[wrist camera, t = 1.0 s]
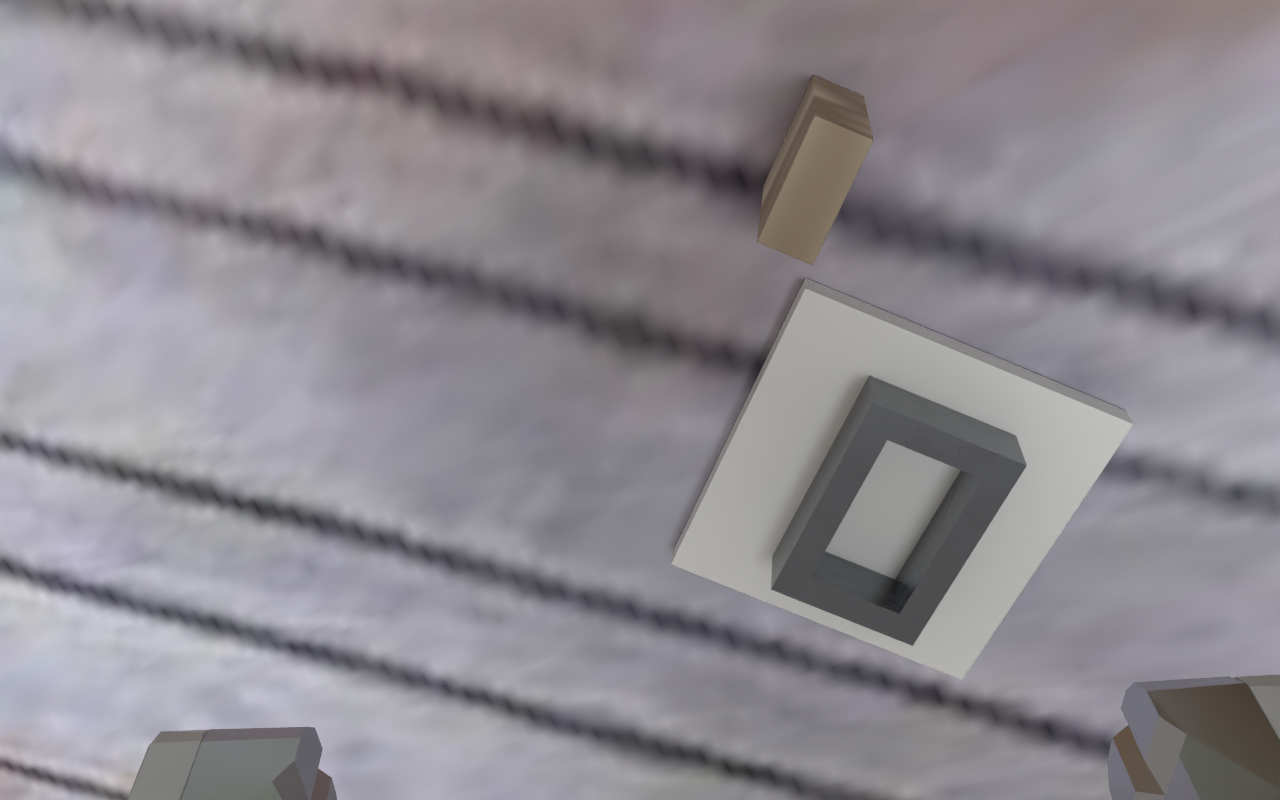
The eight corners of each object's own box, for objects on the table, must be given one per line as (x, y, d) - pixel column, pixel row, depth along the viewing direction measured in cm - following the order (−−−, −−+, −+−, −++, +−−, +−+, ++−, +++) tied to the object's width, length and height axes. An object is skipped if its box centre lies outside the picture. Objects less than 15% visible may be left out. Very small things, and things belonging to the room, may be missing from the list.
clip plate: (1125, 410, 47) (1133, 424, 46) (959, 663, 53) (962, 680, 52) (805, 278, 46) (805, 288, 45) (673, 549, 53) (671, 564, 52)
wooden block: (863, 95, 43) (873, 140, 37) (811, 205, 45) (812, 265, 39) (813, 74, 43) (815, 115, 37) (763, 185, 45) (757, 242, 39)
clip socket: (1016, 435, 47) (1027, 465, 45) (907, 610, 51) (912, 646, 49) (868, 374, 47) (872, 402, 44) (772, 556, 51) (770, 589, 49)
